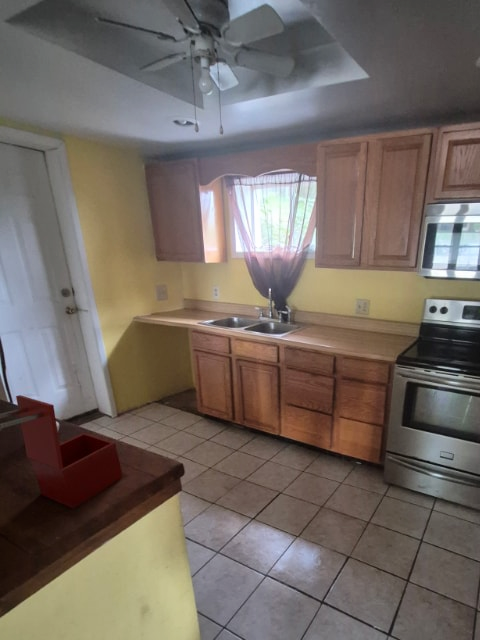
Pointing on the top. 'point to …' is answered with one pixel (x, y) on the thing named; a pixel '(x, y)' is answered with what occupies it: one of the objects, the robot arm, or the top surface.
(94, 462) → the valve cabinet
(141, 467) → the top surface
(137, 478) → the top surface
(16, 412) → the hatch
